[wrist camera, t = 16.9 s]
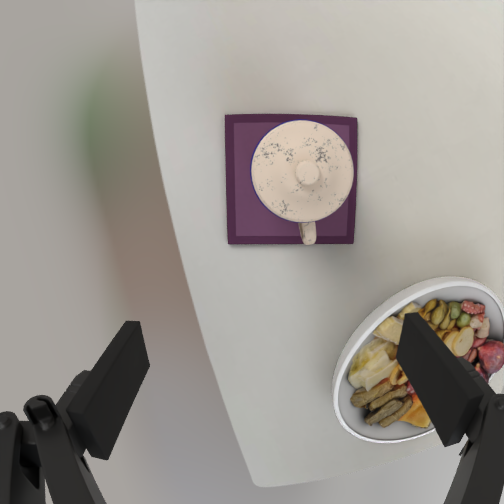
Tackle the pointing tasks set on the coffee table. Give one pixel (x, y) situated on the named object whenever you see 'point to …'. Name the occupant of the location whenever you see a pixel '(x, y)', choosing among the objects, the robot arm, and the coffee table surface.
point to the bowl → (388, 369)
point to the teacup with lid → (302, 173)
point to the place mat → (247, 203)
